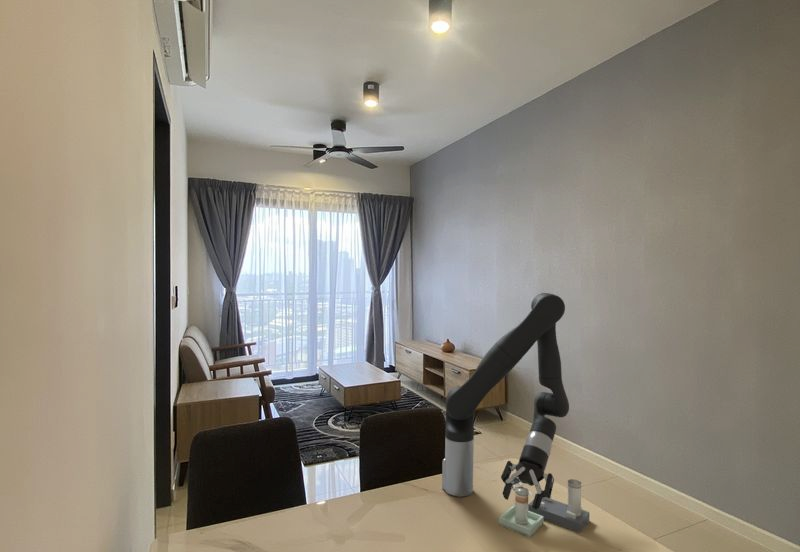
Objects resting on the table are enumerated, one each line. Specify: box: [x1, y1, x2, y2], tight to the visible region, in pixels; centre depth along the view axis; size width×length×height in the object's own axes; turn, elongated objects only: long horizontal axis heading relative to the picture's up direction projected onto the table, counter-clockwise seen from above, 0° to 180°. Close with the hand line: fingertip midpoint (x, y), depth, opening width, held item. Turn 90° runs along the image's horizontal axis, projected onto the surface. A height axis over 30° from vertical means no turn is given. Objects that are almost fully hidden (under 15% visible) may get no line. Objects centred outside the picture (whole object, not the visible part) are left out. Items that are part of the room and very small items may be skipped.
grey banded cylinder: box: [514, 486, 530, 525], centre depth 121 cm, size 4×4×9 cm
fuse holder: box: [528, 496, 590, 534], centre depth 125 cm, size 15×8×4 cm, turn 50°
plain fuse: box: [567, 478, 582, 517], centre depth 122 cm, size 4×4×9 cm
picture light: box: [512, 482, 533, 497], centre depth 144 cm, size 14×4×2 cm, turn 13°
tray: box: [498, 504, 545, 538], centre depth 121 cm, size 9×9×2 cm
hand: (519, 503), depth 120 cm, fingers open, 8 cm apart
